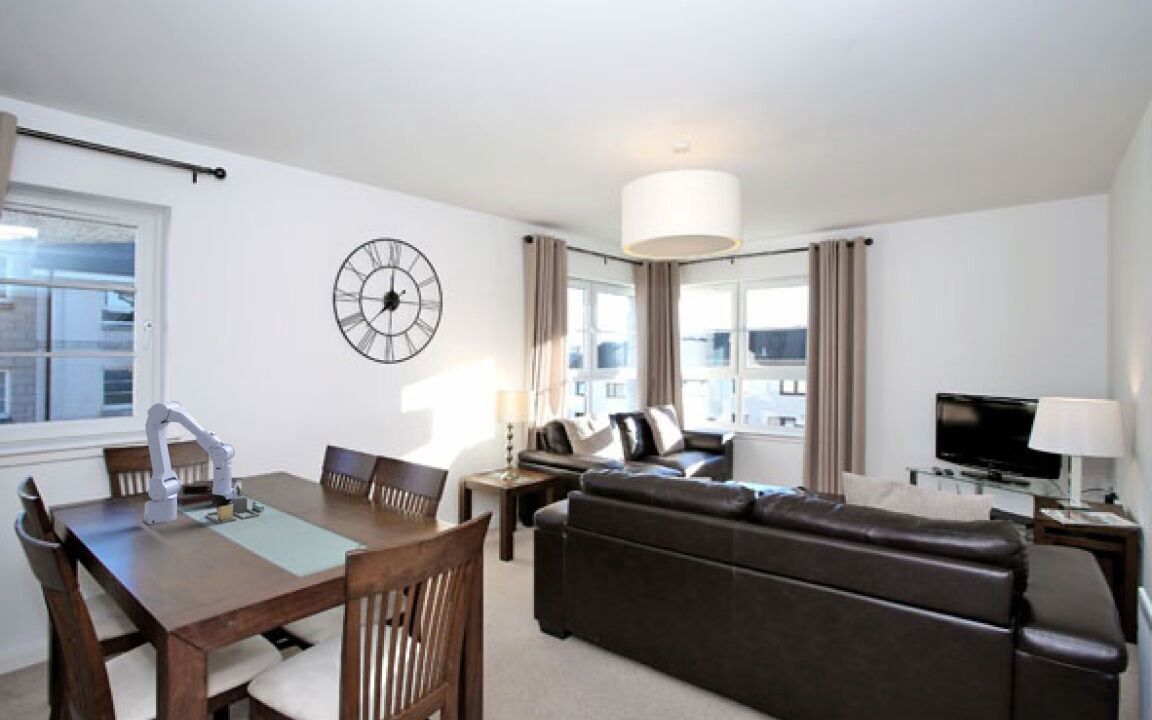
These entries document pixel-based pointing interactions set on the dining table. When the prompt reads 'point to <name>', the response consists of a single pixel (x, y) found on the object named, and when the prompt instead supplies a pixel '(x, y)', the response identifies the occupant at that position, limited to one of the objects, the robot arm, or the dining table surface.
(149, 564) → the dining table surface
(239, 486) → the small box
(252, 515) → the control board
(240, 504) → the slider graphite
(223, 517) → the slider brass
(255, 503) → the paddle
